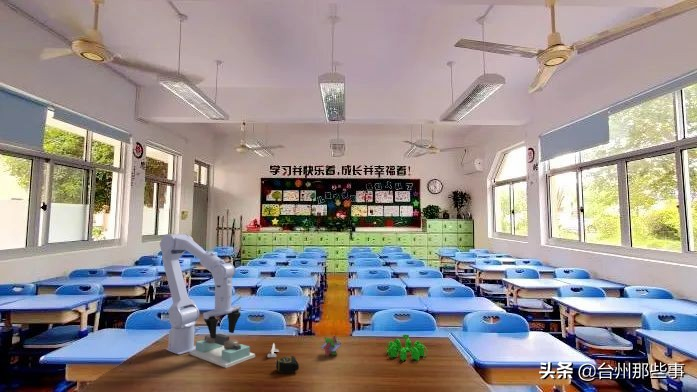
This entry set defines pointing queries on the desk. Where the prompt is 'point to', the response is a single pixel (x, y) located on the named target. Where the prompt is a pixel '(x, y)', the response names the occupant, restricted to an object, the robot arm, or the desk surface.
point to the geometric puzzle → (331, 345)
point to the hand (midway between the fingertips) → (222, 335)
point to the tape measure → (287, 364)
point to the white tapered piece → (273, 351)
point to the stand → (221, 353)
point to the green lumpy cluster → (406, 349)
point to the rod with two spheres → (223, 341)
